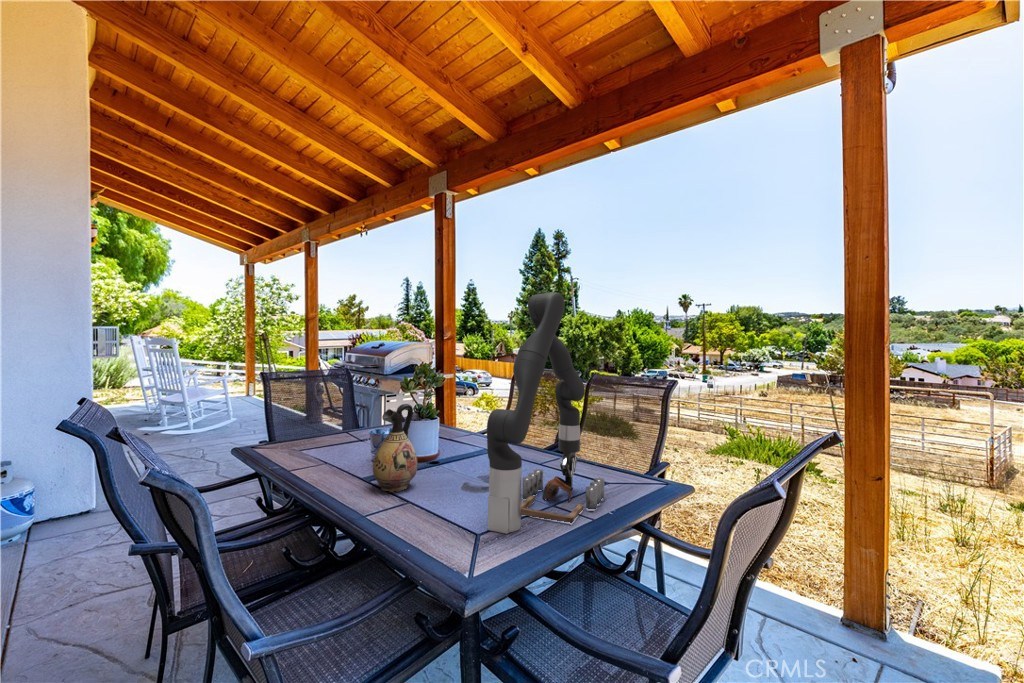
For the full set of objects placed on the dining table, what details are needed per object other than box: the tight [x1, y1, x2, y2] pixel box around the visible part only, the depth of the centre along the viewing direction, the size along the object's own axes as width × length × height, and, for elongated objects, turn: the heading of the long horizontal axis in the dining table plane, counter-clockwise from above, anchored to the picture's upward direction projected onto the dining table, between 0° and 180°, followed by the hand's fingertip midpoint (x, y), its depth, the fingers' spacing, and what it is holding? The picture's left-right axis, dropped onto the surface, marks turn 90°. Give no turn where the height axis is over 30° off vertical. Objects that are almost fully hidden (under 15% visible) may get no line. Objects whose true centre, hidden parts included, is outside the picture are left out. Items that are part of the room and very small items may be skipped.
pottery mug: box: [541, 476, 574, 501], centre depth 149 cm, size 12×10×8 cm
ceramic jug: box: [372, 403, 418, 493], centre depth 159 cm, size 17×15×30 cm
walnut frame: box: [521, 496, 585, 523], centre depth 138 cm, size 12×18×2 cm
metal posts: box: [521, 468, 605, 509], centre depth 150 cm, size 14×26×7 cm, turn 65°
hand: (568, 486), depth 156 cm, fingers closed
